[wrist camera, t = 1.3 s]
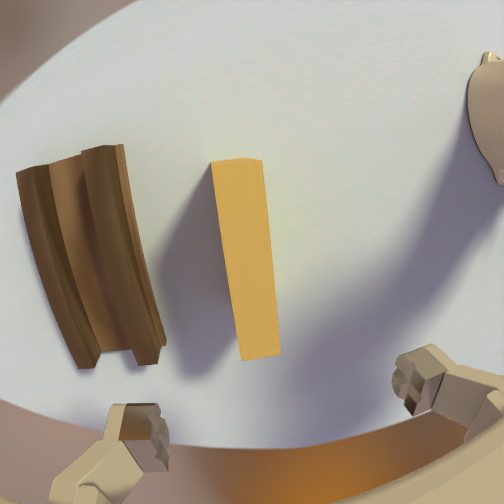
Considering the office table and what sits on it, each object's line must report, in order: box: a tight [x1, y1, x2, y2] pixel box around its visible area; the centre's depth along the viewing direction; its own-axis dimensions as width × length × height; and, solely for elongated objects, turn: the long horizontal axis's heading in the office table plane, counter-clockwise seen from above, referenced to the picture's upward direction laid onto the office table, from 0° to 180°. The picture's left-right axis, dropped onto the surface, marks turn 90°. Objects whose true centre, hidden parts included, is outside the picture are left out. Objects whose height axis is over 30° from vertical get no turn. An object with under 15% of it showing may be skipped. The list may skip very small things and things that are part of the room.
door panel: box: [211, 158, 281, 361], centre depth 24 cm, size 3×14×9 cm, turn 7°
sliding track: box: [16, 144, 166, 369], centre depth 25 cm, size 10×20×4 cm, turn 7°
